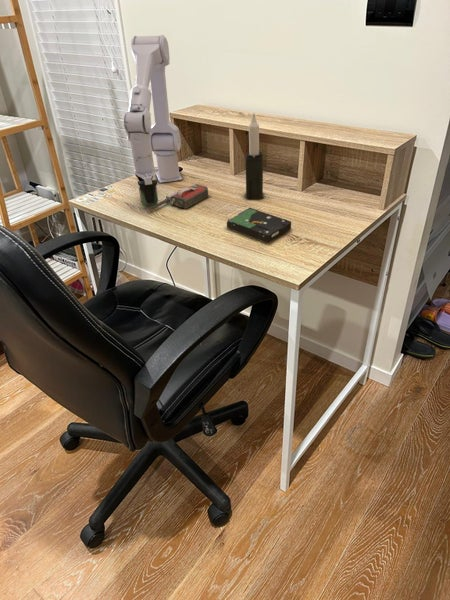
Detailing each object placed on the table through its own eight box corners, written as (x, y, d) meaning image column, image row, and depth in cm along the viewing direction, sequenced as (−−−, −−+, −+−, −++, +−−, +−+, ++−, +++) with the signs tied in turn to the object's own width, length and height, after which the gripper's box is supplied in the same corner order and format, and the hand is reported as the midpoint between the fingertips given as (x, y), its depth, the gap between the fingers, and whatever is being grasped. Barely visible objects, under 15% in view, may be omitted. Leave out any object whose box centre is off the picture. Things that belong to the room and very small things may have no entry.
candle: (262, 192, 145) (263, 110, 130) (262, 199, 141) (262, 115, 126) (247, 193, 145) (245, 111, 131) (246, 199, 141) (244, 115, 127)
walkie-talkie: (191, 189, 149) (148, 212, 137) (190, 177, 147) (146, 198, 134) (212, 195, 145) (169, 218, 132) (211, 182, 142) (168, 204, 130)
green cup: (140, 201, 142) (137, 185, 139) (157, 198, 143) (155, 183, 140) (142, 207, 138) (139, 192, 135) (159, 205, 139) (157, 189, 136)
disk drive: (291, 230, 124) (249, 215, 132) (292, 221, 122) (249, 206, 130) (268, 245, 117) (225, 228, 126) (268, 235, 116) (225, 219, 124)
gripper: (159, 161, 127) (165, 206, 135) (152, 146, 138) (158, 188, 146) (134, 164, 125) (142, 209, 133) (129, 149, 137) (136, 191, 145)
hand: (149, 198), depth 140 cm, fingers closed on green cup, 5 cm apart
